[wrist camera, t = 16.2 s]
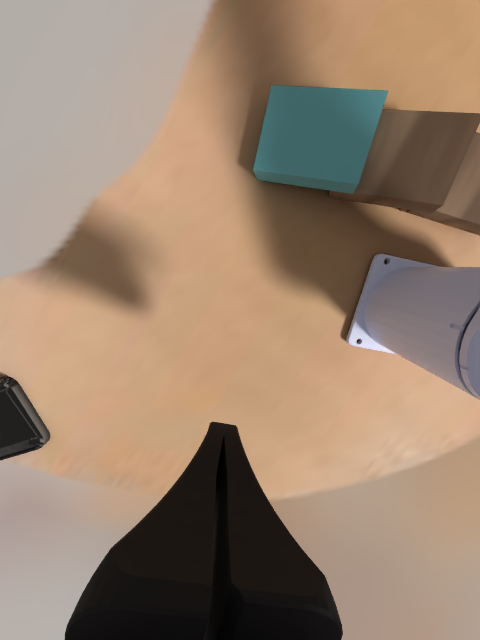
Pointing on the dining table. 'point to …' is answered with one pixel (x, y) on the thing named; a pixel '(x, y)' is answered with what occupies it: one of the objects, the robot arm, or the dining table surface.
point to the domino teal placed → (317, 136)
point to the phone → (18, 421)
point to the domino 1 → (414, 159)
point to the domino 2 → (462, 195)
